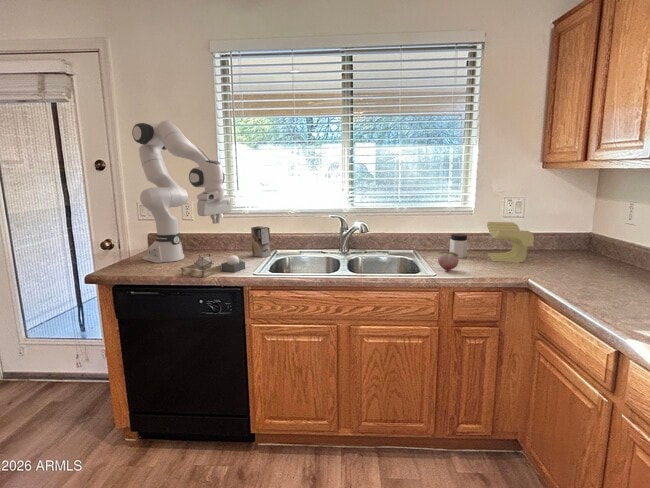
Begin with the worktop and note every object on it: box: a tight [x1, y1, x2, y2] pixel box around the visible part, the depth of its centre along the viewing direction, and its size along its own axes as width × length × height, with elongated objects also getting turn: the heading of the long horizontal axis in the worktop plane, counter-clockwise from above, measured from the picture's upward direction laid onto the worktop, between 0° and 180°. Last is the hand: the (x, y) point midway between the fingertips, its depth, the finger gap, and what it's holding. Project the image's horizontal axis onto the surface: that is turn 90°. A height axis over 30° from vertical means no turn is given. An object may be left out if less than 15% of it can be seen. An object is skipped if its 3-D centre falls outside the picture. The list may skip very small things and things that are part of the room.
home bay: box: [180, 263, 222, 278], centre depth 182 cm, size 14×12×3 cm
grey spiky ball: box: [193, 254, 215, 270], centre depth 184 cm, size 9×8×10 cm
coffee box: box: [250, 225, 272, 258], centre depth 217 cm, size 9×6×16 cm
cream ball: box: [226, 254, 240, 265], centre depth 187 cm, size 6×6×7 cm
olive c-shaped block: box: [486, 221, 535, 263], centre depth 202 cm, size 30×16×18 cm, turn 167°
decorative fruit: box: [437, 249, 459, 272], centre depth 181 cm, size 9×8×10 cm
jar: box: [449, 233, 469, 259], centre depth 210 cm, size 9×8×12 cm
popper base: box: [220, 260, 246, 273], centre depth 187 cm, size 8×8×4 cm
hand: (216, 223), depth 189 cm, fingers closed
